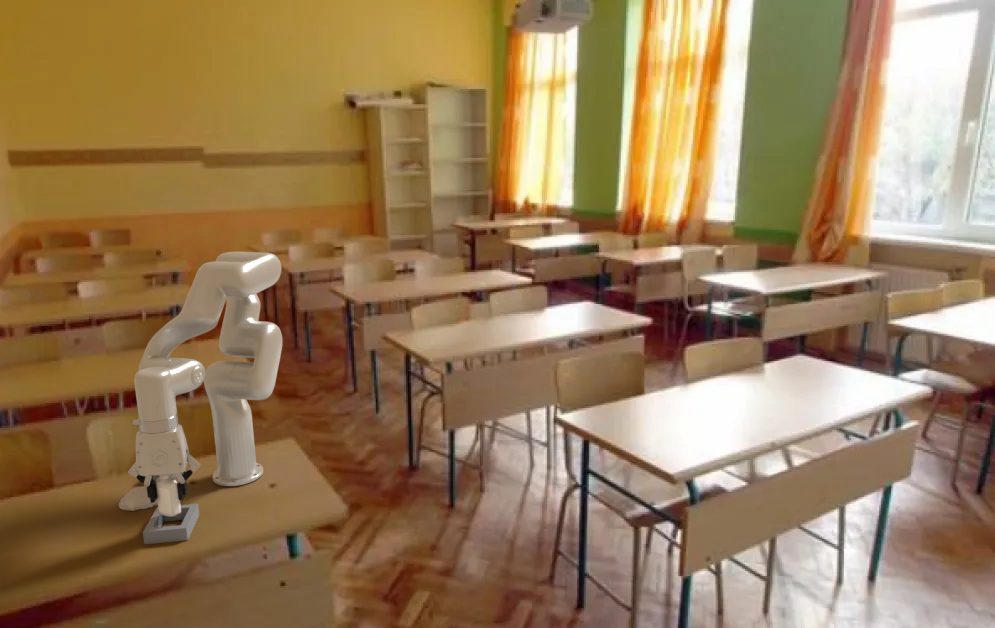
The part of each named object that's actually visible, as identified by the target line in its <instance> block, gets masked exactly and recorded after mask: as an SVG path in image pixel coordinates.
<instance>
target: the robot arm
mask: <svg viewBox="0 0 995 628" xmlns="http://www.w3.org/2000/svg"><path fill="white" fill-rule="evenodd" d="M281 274H282V263H281V261H280V259H279V258H278V256H277V255H275V254H273V253H272V252H260V251H257V252H256V251H228V252H223V253H221V254H219V255H218V256H217V257H216V259H215V261H209V262H205V263H203V264H202V265H201V266H200V267H198V270H197V272H196V274H195V277H194V279H193V282H192V283H191V286H190V289H189V291H188V294H187V296H186V298H185V301H184V303H183V306H182V308H181V311H180V313H179V314H177V316H175V317H173V318H172V319H171V320H169V321H168V322H167V323H166V324H164V326H162V327H161V328H160V329H159V330H158V331H157V332H156V333H155V334H154V335H153V336H152V337H151V338H150V340H149V341H148V343H147V344H146V347H145V349H144V352H143V355H142V357H141V359H140V362H139V366H138V371H137V372H136V373H135V374H134V378H133V382H134V389H135V397H136V405H137V411H138V418H137V419H133V420H132V426H134V427H138V429H139V430H138V431H137V432H136V436H135V462H134V463H133V465H132V466H131V467H130V468H129V470H128V472H127V473H128V474H129V475H130V476H132V477H134V478H136V479H137V480H138V481H139V482H141V483H142V484H143V487H147V494H148V498H150V501H151V503H154V502H155V500H156V499H157V493H156V485H155V482H156V481H155V480H154V476H159V475H171V474H176V476H177V478H176V479H177V480H178V482H177V488H178V496H179V500H180V501H183V500H184V498H185V496H186V495H188V491H189V490H188V489H189V488H188V482H187V481H188V479H189V478H190V477H191V476H192V475H193V474H194V473H195V472H196V471H197V470H198V469H200V467H201V462H199V460H197V459H196V458H195V457H194V456H192V455H191V454H190V452H189V451H190V450H189V446H188V442H187V438H186V435H185V432H184V428H183V426H182V424H179V418H178V410H177V402H176V401H177V400H176V397H177V396H180V395H182V394H186V393H189V392H192V391H193V392H194V391H195V390H196V389H198V388H199V387H201V385H202V384H204V389H205V392H206V395H207V398H208V400H209V405H210V410H211V417H212V425H213V426H212V428H213V435H214V444H215V445H214V446H215V452H216V462H217V463H216V464H217V469H216V470H214V472H213V474H212V482H214V483H215V484H217V486H222V487H237V486H238V487H239V486H243V485H247V484H250V483H252V482H254V481H256V480H258V479H259V478H260V477H261V476H263V473H264V467H263V465H262V464H261V463H258V462H257V455H256V447H255V446H256V445H255V437H254V436H255V435H254V426H253V415H252V410H251V406H250V405H249V403H248V400H249V401H263V400H266V399H269V397H270V396H271V395H272V394H273V391H274V388H275V386H276V382H277V381H276V380H277V376H278V371H279V365H280V362H281V354H282V350H283V349H282V348H283V334H282V332H281V329H280V327H279V326H278V325H277V324H276V323H274V322H270V321H262V320H261V321H260V312H261V301H260V297H259V296H258V294H259V293H261V292H262V291H265V290H266V289H269V288H270V287H272V286H274V285H275V284H276V283H277V282H278V281H279V279H280V276H282V275H281ZM225 305H226V306H225ZM224 307H225V311H224V317H223V321H222V325H221V329H220V335H219V341H218V346H219V349H220V351H221V353H223V354H224V355H225V356H230V357H237V358H251V359H252V358H253V359H254V360H253V361H252V362H251V361H242V360H219V361H215V362H213V363H212V364H210V365H208V366H207V368H205V367H204V365H203V363H202V362H200V361H199V360H196V359H194V358H193V359H192V358H186V357H184V358H183V357H172V356H171V357H170V355H171V354H172V352H173V351H174V350H175V349H176V348H177V347H179V346H180V345H181V344H182V343H184V342H186V341H188V340H190V339H193V338H195V337H198V336H200V335H203V334H205V333H207V332H210V331H212V330H213V329H215V328H216V327H217V326H218V323H219V321H220V317H221V314H222V312H223V309H224ZM188 466H190V467H189V468H188V469H187V467H188Z"/></svg>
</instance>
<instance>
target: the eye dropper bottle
mask: <svg viewBox="0 0 995 628" xmlns="http://www.w3.org/2000/svg"><path fill="white" fill-rule="evenodd" d="M171 476H172V475H159V477H160V478H158V479H157V480H156V481H155V485H156V493H157V501H158V504H157V507H158V509H159V512H160V513H161V514H162V515H165V516H170V517H172V516H175V515H177V514H179V513H181V505H182V504H181V500H179V496H178V488H177V484H178V482H177V480H176V479H174V478H173V477H171Z"/></svg>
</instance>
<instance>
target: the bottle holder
mask: <svg viewBox="0 0 995 628" xmlns="http://www.w3.org/2000/svg"><path fill="white" fill-rule="evenodd" d="M180 505H181V513H179V514H177V515H175V516H172V517H170V516H165V515H162V514H161V513H160V512H159V509H158V506H157V508H156V509H155V510H154V512H153V514H152V516H151V517H150V519H149V521H148V522H147V524H146V526H145V527H144V529H143V531H142V538H143V544H144V545H151V544H153V545H154V544H162V543H172V542H173V543H174V542H183V541H184V542H185V541H189V539H190V537H191V535H192V532H193V530H194V528H195V526H196V523H197V521H198V519H199V516H200V510H199V503H191V504H189V503H188V504H180ZM172 521H182V522H181V523H180V524H179V525H168V526H163V523H164V522H172Z"/></svg>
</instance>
